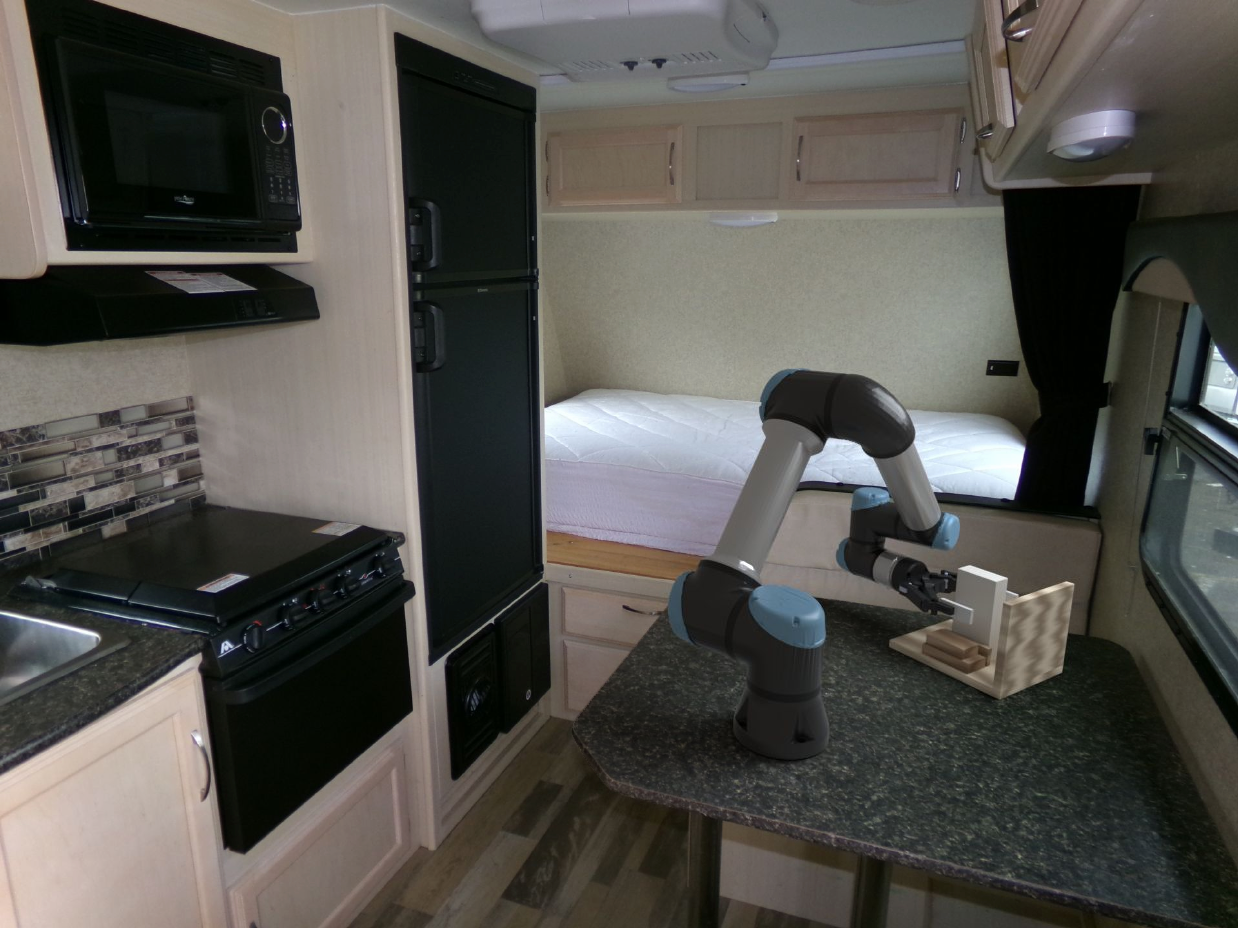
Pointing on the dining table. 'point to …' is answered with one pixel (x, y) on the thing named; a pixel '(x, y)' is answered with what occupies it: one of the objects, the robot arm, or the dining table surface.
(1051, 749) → the dining table surface
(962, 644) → the walnut offcuts
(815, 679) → the robot arm
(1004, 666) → the maple rack
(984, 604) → the white block
